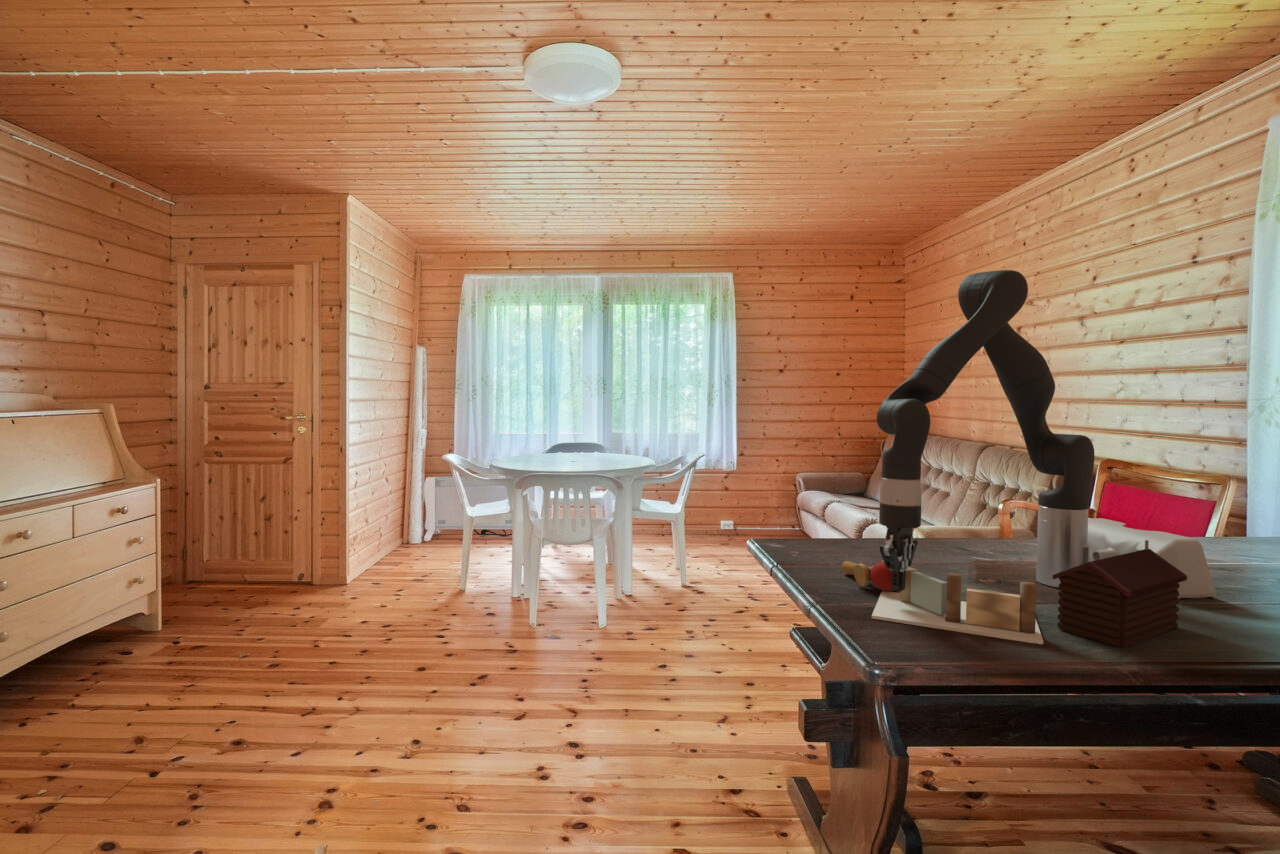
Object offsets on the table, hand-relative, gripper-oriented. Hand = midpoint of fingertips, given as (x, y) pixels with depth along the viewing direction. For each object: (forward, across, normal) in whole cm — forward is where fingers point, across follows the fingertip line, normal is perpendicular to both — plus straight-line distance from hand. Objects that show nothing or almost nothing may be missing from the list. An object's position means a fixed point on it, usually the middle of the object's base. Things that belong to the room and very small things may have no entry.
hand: (898, 589), depth 122 cm
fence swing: (+3, +2, -4) cm, 5 cm away
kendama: (+3, +11, +11) cm, 16 cm away
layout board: (+4, +3, -9) cm, 10 cm away
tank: (+3, +54, -30) cm, 62 cm away
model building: (+4, +17, -32) cm, 37 cm away
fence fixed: (+4, +1, -16) cm, 16 cm away
